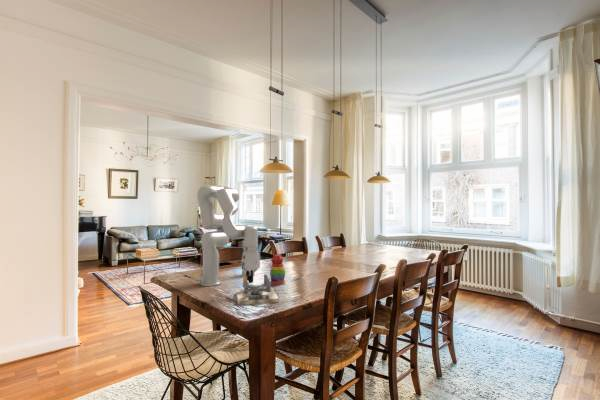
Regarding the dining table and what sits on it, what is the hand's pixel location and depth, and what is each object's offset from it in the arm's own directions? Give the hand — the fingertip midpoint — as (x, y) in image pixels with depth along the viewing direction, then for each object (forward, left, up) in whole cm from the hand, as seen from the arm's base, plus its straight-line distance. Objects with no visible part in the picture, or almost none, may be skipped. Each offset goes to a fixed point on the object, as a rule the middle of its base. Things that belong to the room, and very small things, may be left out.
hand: (250, 282), depth 175 cm
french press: (+4, +44, -6) cm, 44 cm away
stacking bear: (+19, +20, -6) cm, 28 cm away
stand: (+3, -8, -6) cm, 11 cm away
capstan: (+3, -8, -4) cm, 10 cm away
